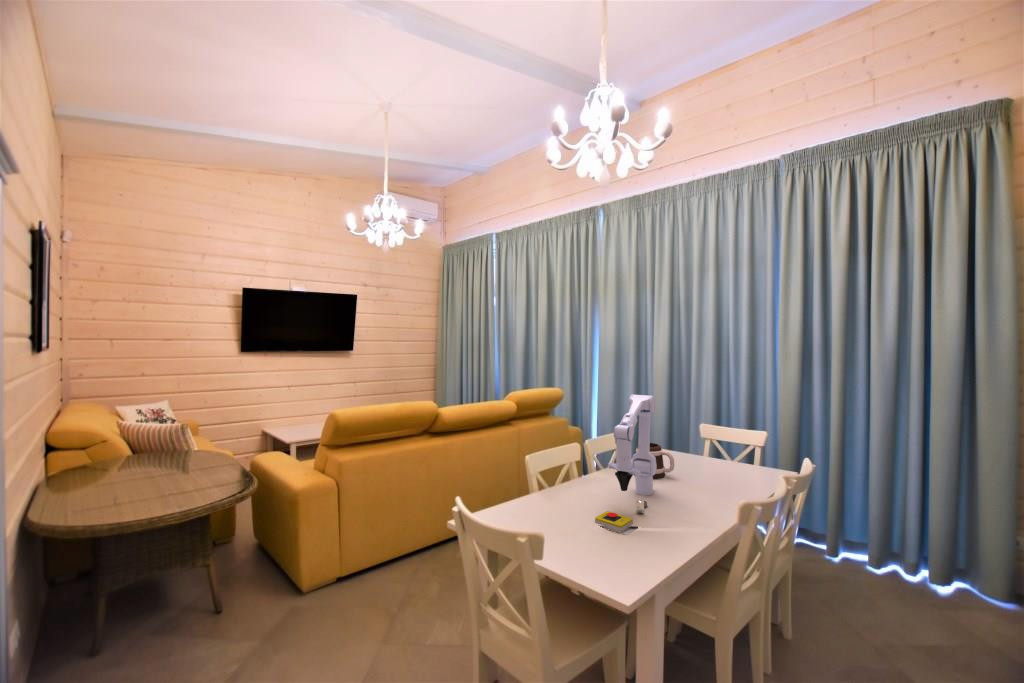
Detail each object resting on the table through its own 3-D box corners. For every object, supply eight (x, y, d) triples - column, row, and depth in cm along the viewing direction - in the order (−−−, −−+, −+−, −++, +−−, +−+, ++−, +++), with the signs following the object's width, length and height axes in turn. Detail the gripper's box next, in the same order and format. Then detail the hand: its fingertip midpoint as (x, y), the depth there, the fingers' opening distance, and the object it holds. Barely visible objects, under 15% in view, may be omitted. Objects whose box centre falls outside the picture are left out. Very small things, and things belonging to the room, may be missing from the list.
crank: (637, 503, 189) (637, 492, 188) (647, 504, 187) (647, 493, 187) (634, 514, 178) (634, 501, 178) (645, 515, 176) (644, 502, 176)
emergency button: (603, 506, 179) (639, 516, 169) (603, 517, 179) (639, 528, 169) (590, 513, 172) (626, 524, 162) (590, 525, 172) (626, 536, 162)
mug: (629, 475, 229) (628, 445, 229) (640, 468, 241) (640, 440, 241) (669, 483, 217) (669, 451, 217) (679, 475, 229) (679, 445, 229)
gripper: (602, 453, 184) (603, 487, 184) (632, 461, 172) (632, 497, 173) (614, 450, 188) (615, 484, 188) (644, 458, 176) (644, 493, 177)
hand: (624, 490), depth 181 cm, fingers closed
